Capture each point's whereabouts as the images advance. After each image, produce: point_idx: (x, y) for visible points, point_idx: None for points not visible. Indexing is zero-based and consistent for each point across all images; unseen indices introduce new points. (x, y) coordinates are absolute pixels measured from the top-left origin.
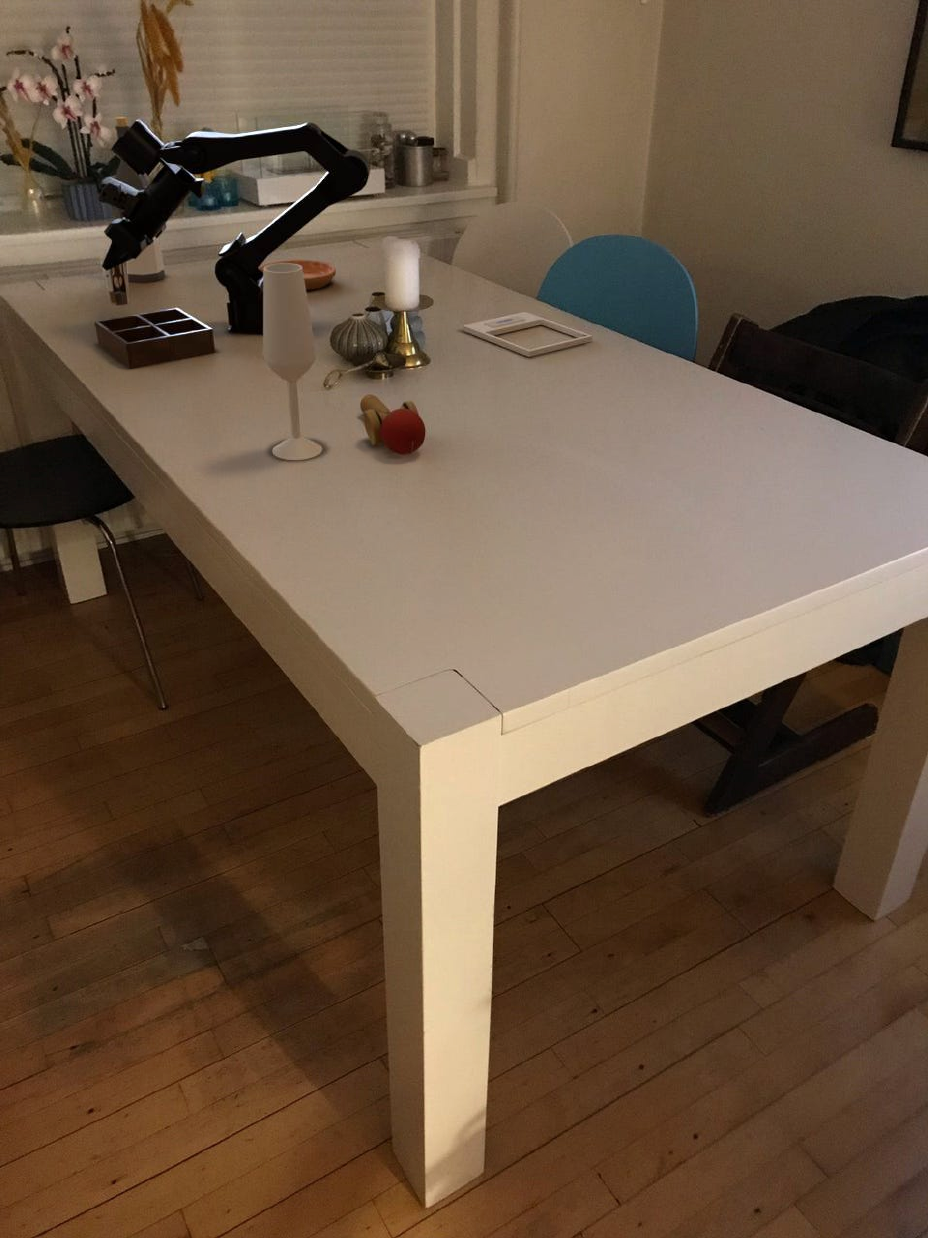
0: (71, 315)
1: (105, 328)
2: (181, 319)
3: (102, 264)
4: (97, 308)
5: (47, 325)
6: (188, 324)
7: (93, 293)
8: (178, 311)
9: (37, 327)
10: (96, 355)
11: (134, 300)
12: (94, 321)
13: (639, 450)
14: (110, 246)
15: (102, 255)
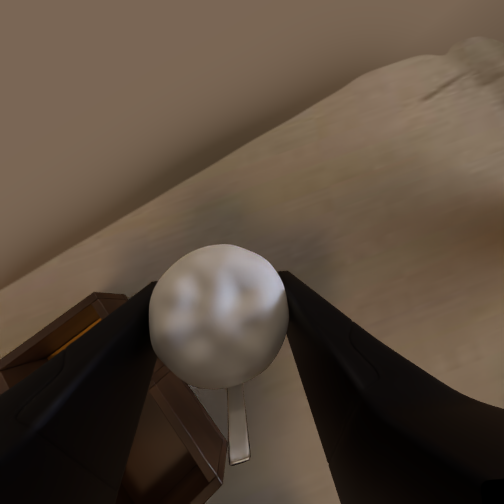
0: (297, 185)
1: (28, 342)
2: (183, 495)
3: (146, 286)
4: (346, 213)
5: (235, 169)
6: None
7: (431, 175)
8: (191, 499)
9: (223, 158)
10: (57, 314)
11: (412, 261)
12: (92, 293)
13: None
14: (3, 395)
15: (165, 276)
